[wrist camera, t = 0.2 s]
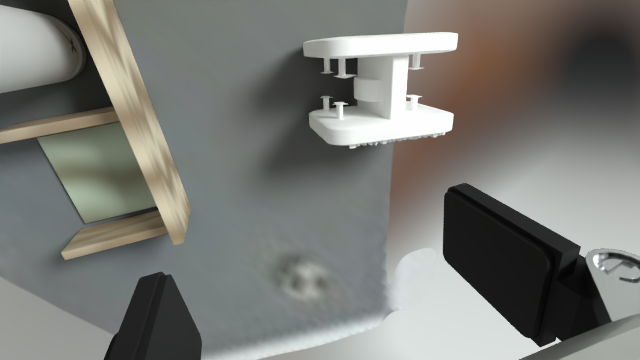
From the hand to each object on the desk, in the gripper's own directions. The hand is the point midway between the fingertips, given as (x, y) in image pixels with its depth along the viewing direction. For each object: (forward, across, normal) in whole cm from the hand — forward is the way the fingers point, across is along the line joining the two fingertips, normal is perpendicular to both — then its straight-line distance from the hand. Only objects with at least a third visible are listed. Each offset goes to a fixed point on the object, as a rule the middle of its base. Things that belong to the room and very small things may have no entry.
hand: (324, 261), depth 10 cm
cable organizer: (+31, -14, 0) cm, 34 cm away
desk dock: (+31, +18, -3) cm, 36 cm away
